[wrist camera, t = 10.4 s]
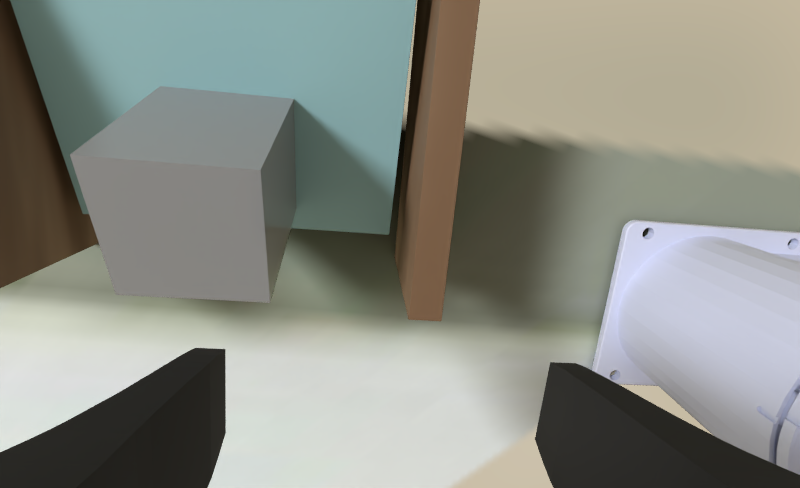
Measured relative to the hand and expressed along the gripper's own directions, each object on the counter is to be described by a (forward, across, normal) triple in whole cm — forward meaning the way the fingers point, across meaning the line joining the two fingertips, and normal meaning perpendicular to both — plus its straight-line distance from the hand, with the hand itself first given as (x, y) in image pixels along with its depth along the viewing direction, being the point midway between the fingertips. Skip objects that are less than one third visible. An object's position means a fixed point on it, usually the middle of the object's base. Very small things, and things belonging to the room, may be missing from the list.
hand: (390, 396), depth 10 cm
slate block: (+7, +5, -4) cm, 10 cm away
